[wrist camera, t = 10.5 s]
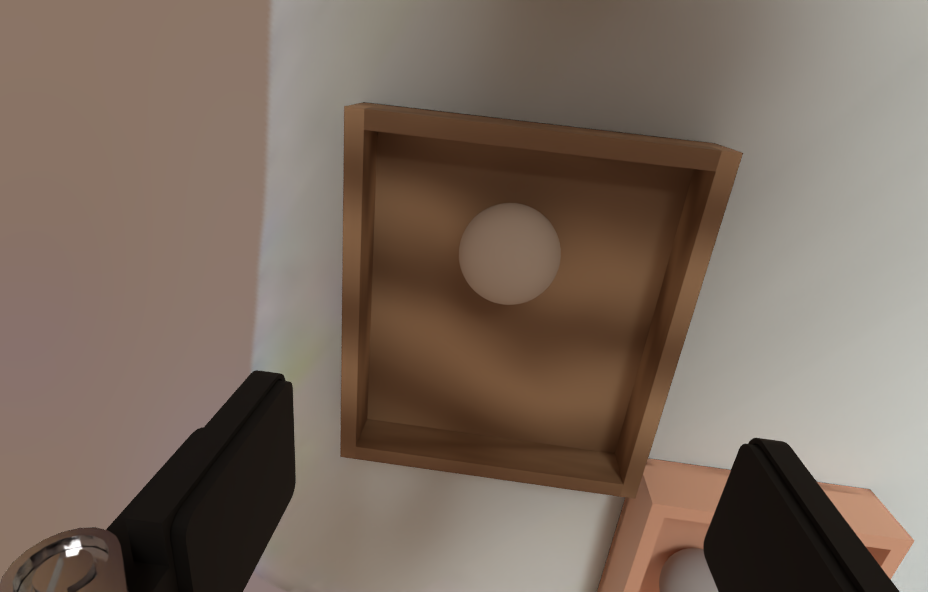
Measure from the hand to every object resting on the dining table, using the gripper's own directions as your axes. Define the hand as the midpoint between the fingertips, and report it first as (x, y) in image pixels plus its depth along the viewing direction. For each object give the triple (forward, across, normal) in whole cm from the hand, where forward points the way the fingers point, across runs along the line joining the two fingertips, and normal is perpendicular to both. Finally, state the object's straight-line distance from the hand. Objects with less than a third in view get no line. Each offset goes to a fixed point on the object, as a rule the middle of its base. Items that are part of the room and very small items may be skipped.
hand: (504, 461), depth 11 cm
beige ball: (+15, 0, 0) cm, 15 cm away
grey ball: (+15, -14, +18) cm, 27 cm away
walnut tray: (+16, 0, +3) cm, 16 cm away
